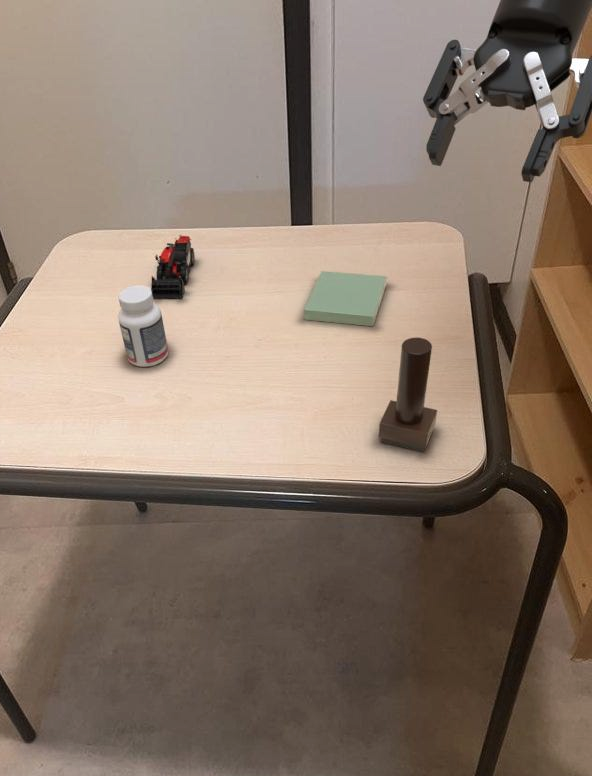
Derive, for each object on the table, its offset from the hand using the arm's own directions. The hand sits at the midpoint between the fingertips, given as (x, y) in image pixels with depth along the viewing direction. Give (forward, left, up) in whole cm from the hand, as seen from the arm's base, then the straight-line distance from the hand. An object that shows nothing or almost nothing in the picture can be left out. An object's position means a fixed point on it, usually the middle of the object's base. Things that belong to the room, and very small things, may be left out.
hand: (479, 169), depth 64 cm
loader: (+40, -18, -25) cm, 51 cm away
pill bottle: (+37, +1, -25) cm, 44 cm away
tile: (+15, -16, -25) cm, 33 cm away
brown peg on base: (+3, +9, -25) cm, 26 cm away
